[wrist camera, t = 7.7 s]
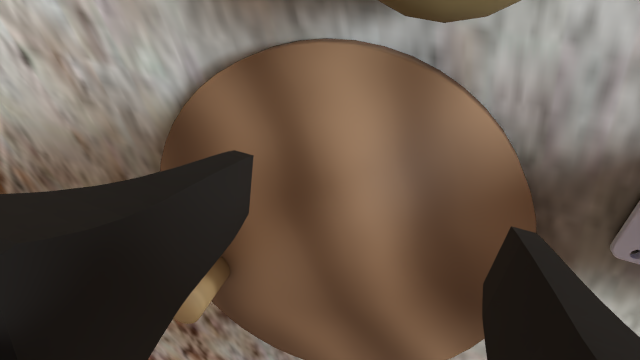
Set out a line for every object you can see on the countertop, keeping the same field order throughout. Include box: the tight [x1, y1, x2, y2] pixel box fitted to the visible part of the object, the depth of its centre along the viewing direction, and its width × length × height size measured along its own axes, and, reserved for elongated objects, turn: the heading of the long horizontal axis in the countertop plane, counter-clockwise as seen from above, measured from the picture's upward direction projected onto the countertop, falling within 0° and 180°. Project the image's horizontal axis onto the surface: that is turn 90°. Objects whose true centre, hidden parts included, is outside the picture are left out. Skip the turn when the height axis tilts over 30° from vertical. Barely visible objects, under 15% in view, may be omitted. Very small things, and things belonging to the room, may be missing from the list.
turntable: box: [160, 38, 536, 360], centre depth 21 cm, size 20×20×5 cm
